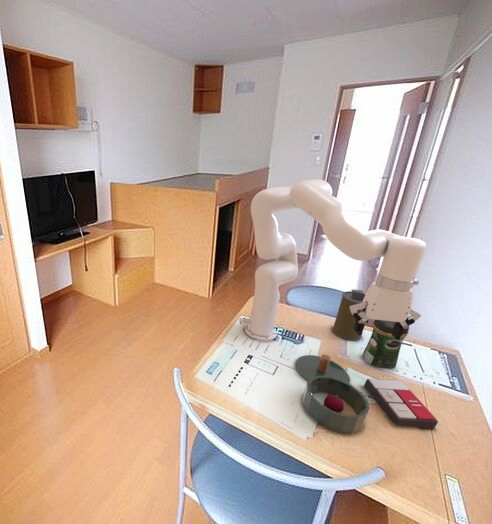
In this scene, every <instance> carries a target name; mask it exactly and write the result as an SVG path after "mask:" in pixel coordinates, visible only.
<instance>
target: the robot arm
mask: <svg viewBox="0 0 492 524" xmlns="http://www.w3.org/2000/svg"><path fill="white" fill-rule="evenodd" d="M298 208H299V209H300V210H301V211H302V212H304V213H305V214H306V215H308V216H309V217H310V218H312V219H313V220H314V221H315V222H317V223H318V224H319V225H320V226H321V228H322V231H323V233H324V235H325V237H326V238H327V240H328V242H330V244H331V245H333V246H334V247H335V248H336V249H338V250H339V251H340V252H341V253H343V254H344V255H345V256H347V257H348V258H350V259H352V260H356V261H360V262H361V261H362V262H365V261H368V260H372V259H375V258H383V259H382V263H381V266H380V270H379V273H378V275H377V279H376V281H374V282H372V283H371V284H370V285H369V287H368V289H367V291H366V293H365V297H364V299H363V302H362V303H359V304H355V305H352V306H350V310H351V313H352V315H353V316H354V317H355V319H356V322H355V326H354V330H355V331H356V333H357V334H358V335H360V336H361V337H362V335H363V332H364V330H365V326H366V323H365V324H364V322H365V321H367V320H369V321H370V320H374V321H375V320H384V321H393V322H398V323H395V324H394V327H393V330H392V332H391V334H392V335H393V337H394V338H395V339H396V340H400V337H401V336H402V334H403V332H404V329H406V328H408V326H409V327H410V326H411V325H413V324H415V322H416V321H418V319H420V318H421V317H422V315H421V313H419V312H418V311H416V310H414V309H413V308H412V303H413V295H414V290H413V286H418V285H419V280H418V279H416V277H417V274H418V271H419V269H420V266H421V264H422V261H423V259H424V255H425V253H426V250H427V243H425V241H422V240H420V239H418V238H414V237H408V236H401V235H398V234H396V233H393V232H390V231H387V230H385V229H374V230H369V231H365V232H364V231H363V232H362V231H360V230H359V229H357V228H355V227H354V226H353V225H352V224H351V223H349V222H348V221H347V220H346V218H345V217H344V214H343V213H344V211H345V209H346V206H345V203H343V202H342V201H341V200H339V199H337V198H336V197H335V196H334V195H333V189H332V186H331V185H330V183H329V182H328V181H326V180H325V179H319V178H318V179H317V178H316V179H306V180H300V181H299V182H296V183H295V184H293V185H288V186H276V187H269V188H265V189H262V190H260V191H259V192H257V193H256V194H255V195H254V197H253V198H252V200H251V203H250V215H251V219H252V224H253V232H254V241H255V250H256V254H257V256H258V257H259V258H260V259H262V260H263V261H264V260H265V261H266V260H273V259H274V260H273V261H270V262H265V263H263V264H262V265H261V264H260V266H259V267H257V269H256V270H255V273H254V281H255V282H254V284H255V285H254V295H253V300H252V308H251V312H250V317H249V318H247V319H246V318H243V317H239V318H238V322H239V323H240V325H241V326H243V327H244V332H245V333H246V335H247V336H249V337H250V338H252V339H254V340H259V341H265V342H268V341H272V340H275V339H276V338H277V335H278V332H277V331H276V328H275V324H276V320H277V315H278V311H279V310H278V309H279V304H280V298H281V295H280V291H279V287H280V286H282V285H285V284H287V283H291V282H293V281H294V280H295V279H296V278H297V277H298V274H299V264H298V253H297V244H296V240H295V239H294V237H293V236H292V235H291V234H289V233H287V232H284V231H282V232H279V223H278V220H277V218H276V216H275V215H274V214H273V213H274V212H280V211H285V210H291V209H292V210H293V209H298ZM357 310H361V311H362V312H361V313H359V314H357ZM365 315H366V316H365Z"/></svg>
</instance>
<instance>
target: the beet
mask: <svg viewBox="0 0 492 524" xmlns="http://www.w3.org/2000/svg"><path fill="white" fill-rule="evenodd" d="M323 404H324V405H323V406H325V407H327V408H329V409H330V410H332V411H334V412H337V413H340V414H341V413H342V412H343V411H344V409H345V404H344V400H343V399H341V398H339V397H338V396H337V395H332V394H329V395H327V396H325V398H324V400H323Z"/></svg>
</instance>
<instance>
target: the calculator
mask: <svg viewBox="0 0 492 524" xmlns="http://www.w3.org/2000/svg"><path fill="white" fill-rule="evenodd" d="M363 388H364V390H366V391H367V392H368V394H369V395H370V396H371V397H372V398H373V400H374V401H375V402H376V403H377V405H378V406H379V408H380V409H381V410H382V412H383V413H384V414H385V415H386V416H387V417H388V419H389V420H390V421H391V422H392V424H393V425H394V426H396V427H399V426H400V427H413V428H417V429H429V430H434V429H435V428H436V427H437V425H438V423H439V421H438V419H437V418H436V417H435V416H434V414H432V412H431V411H430V410H429V409H428V408H427V407H426V405H424V404H423V402H421V400H420V399H419V398H418V397H417V396H416V395H415V393H414V392H413V391H412V390H410V389H409V387H408V386H406V384H405V383H404V382H403V381H402V380H394V379H393V380H392V379H373V378H367V379H366V380H365V382H364V385H363Z"/></svg>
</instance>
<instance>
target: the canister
mask: <svg viewBox="0 0 492 524" xmlns="http://www.w3.org/2000/svg"><path fill="white" fill-rule="evenodd" d="M341 295H342V296H341V300H340V303H339V307H338V311H337V313H336V317H335V320H334V323H333V326H332V327H331V328H332V329H331V330H332V332H333V334H334V335H336V336H338V337H339V338H341V339H344V340H347V341H354V342H355V341H360V340H361V339H362V335H361V336H360V335H358V334H357V333H356V331H355V330H354V326H355V322H356V319H355V317H354V316H353V315H352V313H351V310H350V306H352V305H355V304H359V303H362V302H363V299H364V297H365V295H366V293H365V292H364V291H363V289H351V290H348V291H343V292H342V294H341ZM361 312H362V311H361V310H357V314H359V313H361ZM365 316H366V315H365ZM369 321H370V319H369V320H367V321H365V322H364V324H365V325H366V324H369Z"/></svg>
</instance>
